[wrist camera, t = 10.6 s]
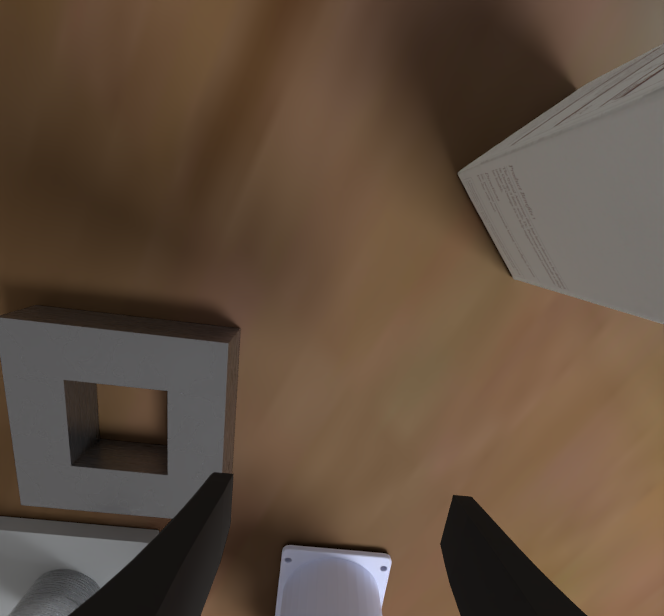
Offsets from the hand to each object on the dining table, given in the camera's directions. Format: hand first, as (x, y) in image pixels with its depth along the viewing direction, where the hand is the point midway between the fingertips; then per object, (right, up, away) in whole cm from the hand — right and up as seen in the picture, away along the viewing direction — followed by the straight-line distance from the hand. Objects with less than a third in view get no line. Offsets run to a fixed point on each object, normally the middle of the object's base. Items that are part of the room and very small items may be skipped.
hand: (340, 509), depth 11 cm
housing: (-12, 0, +11) cm, 16 cm away
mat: (-19, -15, +14) cm, 28 cm away
